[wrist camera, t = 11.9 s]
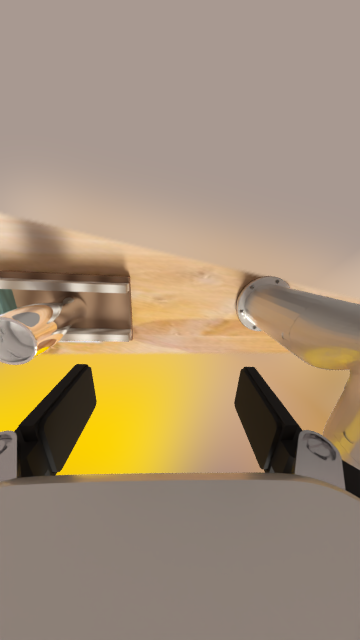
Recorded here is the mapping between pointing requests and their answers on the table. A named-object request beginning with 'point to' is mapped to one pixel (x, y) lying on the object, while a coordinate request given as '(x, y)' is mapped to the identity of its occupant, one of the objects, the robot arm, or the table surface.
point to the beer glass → (37, 327)
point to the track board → (95, 290)
